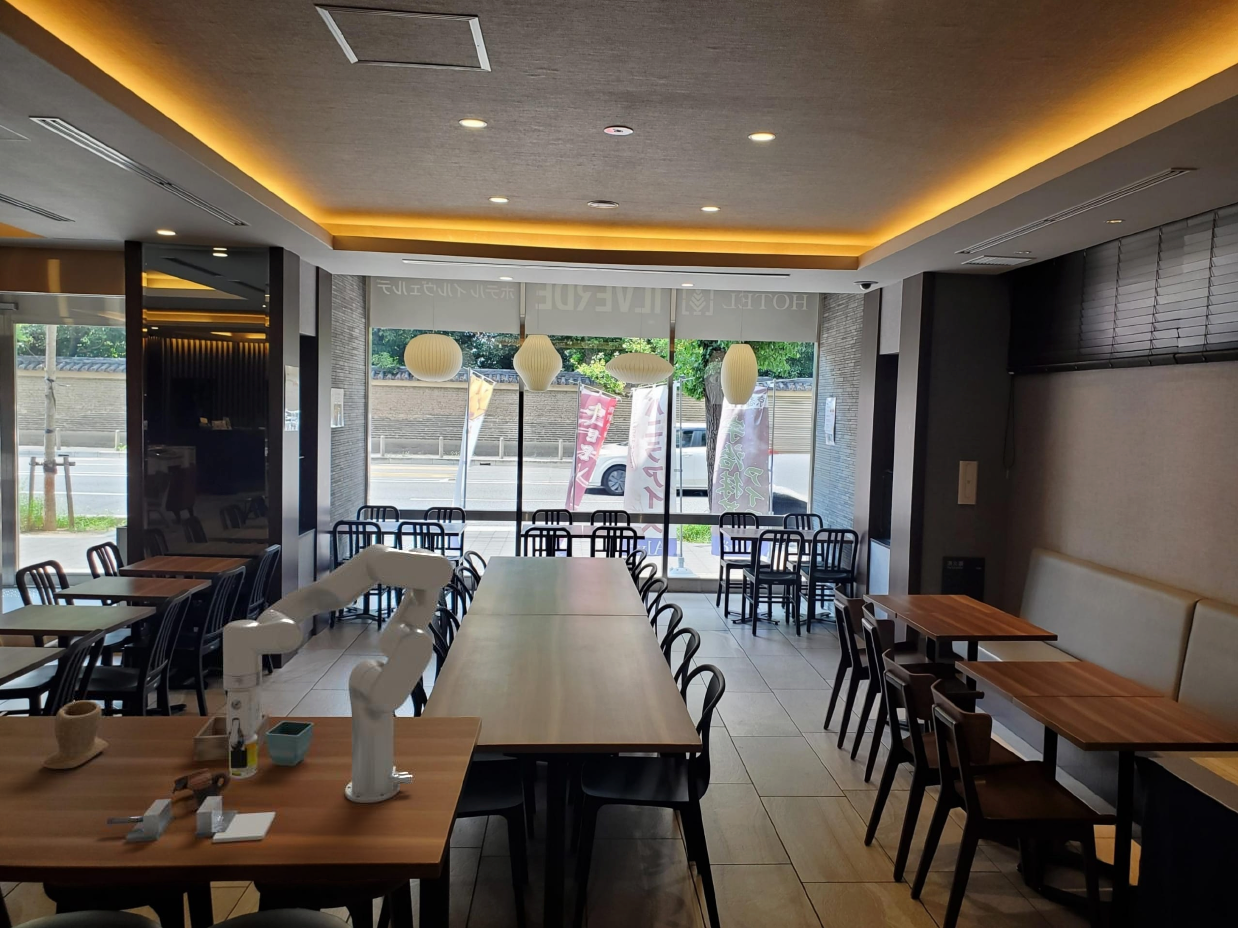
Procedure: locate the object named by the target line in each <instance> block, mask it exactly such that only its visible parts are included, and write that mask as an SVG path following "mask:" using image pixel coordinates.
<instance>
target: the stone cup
mask: <svg viewBox="0 0 1238 928" xmlns="http://www.w3.org/2000/svg"><path fill="white" fill-rule="evenodd" d="M101 721H102V707H101V705H100V704H99V703H98V702H96V701H93V700H88V699H87V700H86V699H84V700H83V699H82V700H81V699H80V700H76V701H72V702H69V703H67V704H65V705H64V706H62V707H61V708H59V710H58V711H57V713H56V716H55V718H54V728H53V729H54V735H55V739H56V741H57V743H58V744H57V745H58V750H57V751H56V752H54V753H52V754H51V755H49V756H47V757H46V758H45V759H44V760H43V761H42V766H43V767H45V768H48V769H55V770H64V769H72V768H76V767H78V766H80V765H82V764H84V763H86V762H87V761H89V760H90V759H92V758H93V757H95V756H97V754H100V752H102V751H104V750H105V749H106V748H108V746H109V744H108V742H106V741H104V739H102V738H99V737H98V736H97V733H98V729H99V727H100V725H101Z"/></svg>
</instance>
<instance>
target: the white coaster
mask: <svg viewBox="0 0 1238 928" xmlns="http://www.w3.org/2000/svg"><path fill="white" fill-rule="evenodd" d="M275 816H276V811H272V812H270V811H269V812H255V813H254V812H252V813H241V814H240V813H238V814H236V815H235V817H234V818H233V820H232V822H231V823H230V825H229V827H228V828H227V830H226V832H218V833H216V834H215V836H213V837H212V843H224V842H238V841H239V842H240V841H254V840H264V839H265V836H266V834H267V833H268V830H269V829H270V827H271V825H272V823H273V820H274V819H275Z"/></svg>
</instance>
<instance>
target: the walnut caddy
mask: <svg viewBox="0 0 1238 928" xmlns="http://www.w3.org/2000/svg"><path fill="white" fill-rule="evenodd" d="M268 731H270V714H269V713H262V721H261V723H260V724H259V726H258V727H257V729H256V735H257V754H258V753H259V751H260V750H261V749H262V747H263V745H264V744H265V742H266V733H267V732H268ZM229 739H230V737H229V736H228V735H227V730H226V715H215V716H211V718H210V719H209V720H208V721H207V722H206V724H204V725H203V726H202V728H201V729H200V731H198V732H197V734H196V735H195V736H194V737H193V749H194V750H193V753H194V756H193V760H194V761H195V762H196V761H210V760H211V761H213V760H215V761H216V760H229Z"/></svg>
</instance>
